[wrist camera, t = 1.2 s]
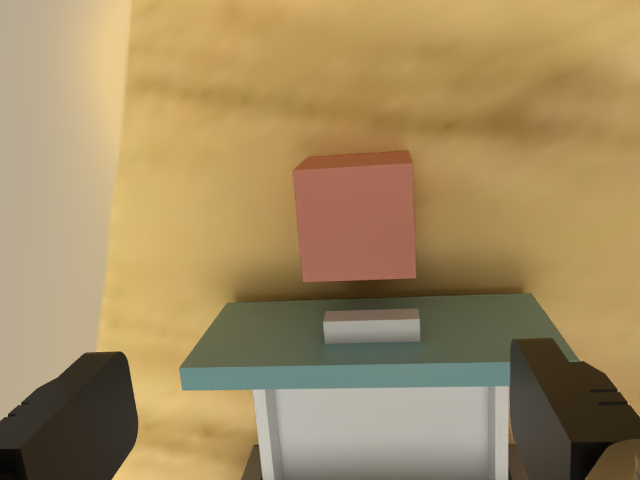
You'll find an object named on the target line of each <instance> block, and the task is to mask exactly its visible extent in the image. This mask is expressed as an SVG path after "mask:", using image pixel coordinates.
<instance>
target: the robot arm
mask: <svg viewBox="0 0 640 480" xmlns="http://www.w3.org/2000/svg"><path fill="white" fill-rule="evenodd" d="M510 416H511V426H512V432H513V437H514V441H515V444H516V447H517V450H518V452H519V455H520V458H521V460H522V463H523V465H524V468H525V470H526V473H527V476H528V478H529V480H640V417H639V416H638V415H637V413H636V412H635V411H634V410H633V408H632V407H631V406H630V405H628V404H627V401H626V400H625V398H624V397H623V396H622V395H621V393H620V392H617V388H616V387H615V386H614V384H613V383H612V382H611V381H610V379H609V378H608V377H607V376H606V374H604V373H603V372H601V371H599V370H597V369H596V368H594V367H592V366H591V365H589V364H587V363H585V362H584V361H580V362H569V361H568V359H567V358H566V356H565V355H564V353H563V352H562V351H561V349H560V348H559V346H558V345H557V343H556V342H555V341H554V339H553V338H524V339H512V341H511V347H510ZM137 433H138V416H137V410H136V404H135V399H134V393H133V387H132V382H131V376H130V370H129V365H128V361H127V358H126V356H125V355H124V353H122V352H92V353H91V352H90V353H84V354H83V355H82V356H81V357H80V358H79V359H77V360H76V361H75V362H74V363H73V364H72V365H71V366H70V367H69V368H67V369H66V370H65V371H64V372H63V373H62V374H61V375H60V376H59V377H58V378H56V379H54V380H52V381H50V382H48V383H46V384H45V385H43V386H41V387H39V388H37V389H36V390H35V391H34V392H33V393H32V394H31V395H29V396H28V397H27V398H26V399H25V400H24V401H23V402H22V403H21V405H18V406H17V407H16V408H15V409H13V410H12V411H11V412H10V413H9V414H8V417H4V418H3V419H2V420H1V421H0V480H112V478H113V477H114V475H115V474H116V472H117V471H118V469H119V468H120V466H121V465H122V463H123V462H124V461H125V459H126V458H127V456H128V455H129V453H130V452H131V450H132V449H133V447H134V445H135V442H136V438H137Z"/></svg>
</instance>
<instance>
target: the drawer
mask: <svg viewBox="0 0 640 480" xmlns="http://www.w3.org/2000/svg"><path fill="white" fill-rule="evenodd" d="M524 338H553V339H554V341H555V342H556V343H557V345H558V346H559V348H560V349H561V351H562V352H563V353H564V355H565V356H566V358H567V359H568V361H569V362H580V361H579V359H578V358H577V356H576V355H575V354H574V352H573V351H572V349H571V348H570V347H569V345H568V344H567V342H566V341H565V339H564V338H563V337H562V335H561V334H560V332H559V331H558V330H557V328H556V327H555V325H554V324H553V323H552V321H551V320H550V318H549V317H548V316H547V314H546V313H545V311H544V310H543V309H542V307H541V306H540V304H539V303H538V302H537V300H536V299H535V297H534V296H533V295H532V293H517V294H486V295H455V296H423V297H392V298H361V299H330V300H299V301H267V302H236V303H227V304H226V305H225V307H224V308H223V309H222V311H221V312H220V313H219V315H218V316H217V317H216V319H215V320H214V321H213V323H212V324H211V326H210V327H209V328H208V330H207V331H206V332H205V334H204V335H203V336H202V338H201V339H200V340H199V342H198V343H197V345H196V346H195V347H194V349H193V350H192V351H191V353H190V354H189V355H188V357H187V358H186V359H185V361H184V362H183V364H182V365H181V366H180V368H179V370H180V377H181V384H182V390H253V397H254V406H255V415H256V423H257V432H258V441H259V450H260V459H261V468H262V477H263V480H508V411H509V386H510V347H511V341H512V339H524Z"/></svg>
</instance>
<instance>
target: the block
mask: <svg viewBox="0 0 640 480" xmlns="http://www.w3.org/2000/svg"><path fill="white" fill-rule="evenodd" d="M293 175H294V187H295V198H296V210H297V222H298V233H299V245H300V256H301V268H302V280H303V282H325V281H353V280H380V279H408V278H416V252H415V224H414V196H413V168H412V161H411V158H410V155H409V152H408V151H396V152H380V153H364V154H349V155H333V156H317V157H308V158H306V159H305V160H304V161H303V162H302V163H301V164H300V165H299V166H297V167H296V168H295V169H294V170H293Z"/></svg>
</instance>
